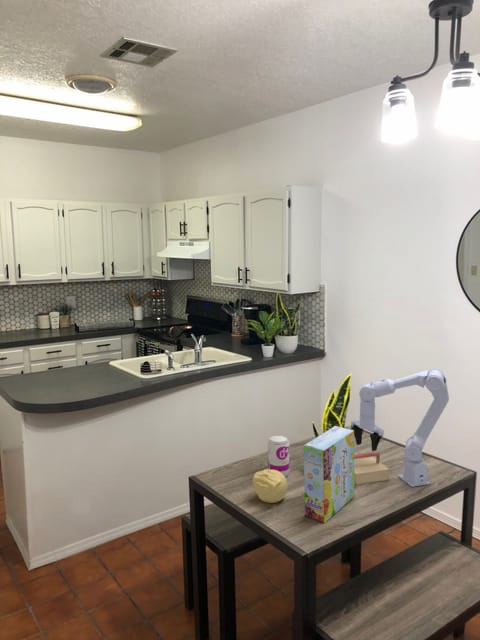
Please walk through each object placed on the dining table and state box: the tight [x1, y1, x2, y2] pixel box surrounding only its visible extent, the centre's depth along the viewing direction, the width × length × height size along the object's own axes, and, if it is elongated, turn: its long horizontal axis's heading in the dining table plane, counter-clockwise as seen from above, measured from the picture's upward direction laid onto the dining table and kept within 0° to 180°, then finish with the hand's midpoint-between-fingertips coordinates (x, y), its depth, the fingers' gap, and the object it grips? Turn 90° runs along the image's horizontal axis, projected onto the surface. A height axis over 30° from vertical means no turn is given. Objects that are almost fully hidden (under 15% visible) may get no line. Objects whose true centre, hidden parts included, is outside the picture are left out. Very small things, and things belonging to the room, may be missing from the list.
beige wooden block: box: [354, 451, 381, 467], centre depth 202 cm, size 6×14×5 cm, turn 105°
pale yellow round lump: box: [251, 468, 288, 504], centre depth 183 cm, size 12×12×11 cm
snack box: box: [303, 425, 355, 524], centre depth 176 cm, size 22×9×26 cm, turn 141°
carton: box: [354, 462, 390, 486], centre depth 200 cm, size 12×14×4 cm
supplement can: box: [267, 434, 290, 478], centre depth 202 cm, size 8×8×15 cm
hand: (366, 447), depth 202 cm, fingers open, 7 cm apart
